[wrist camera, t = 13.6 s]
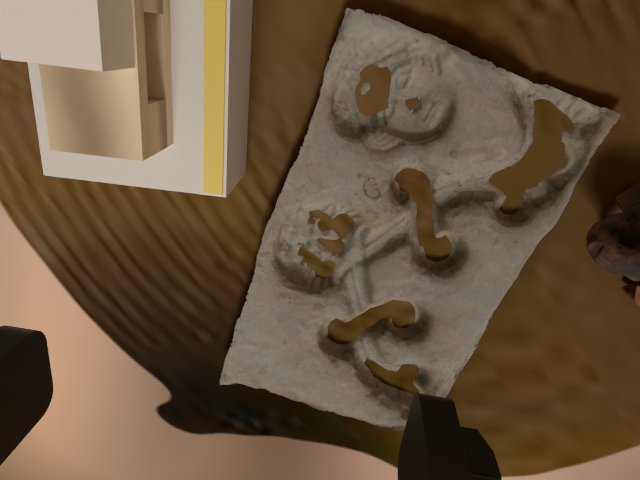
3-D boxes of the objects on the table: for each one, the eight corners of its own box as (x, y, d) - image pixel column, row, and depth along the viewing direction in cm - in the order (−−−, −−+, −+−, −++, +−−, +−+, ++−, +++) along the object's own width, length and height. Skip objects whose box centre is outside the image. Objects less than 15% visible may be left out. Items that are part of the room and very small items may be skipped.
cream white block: (130, -36, 21) (93, -49, 18) (135, 67, 22) (102, 71, 20) (34, -48, 21) (-18, -62, 18) (47, 56, 23) (1, 59, 20)
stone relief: (613, 112, 32) (348, -1, 30) (636, 119, 30) (348, -5, 27) (411, 428, 45) (216, 364, 43) (416, 452, 42) (208, 385, 40)
